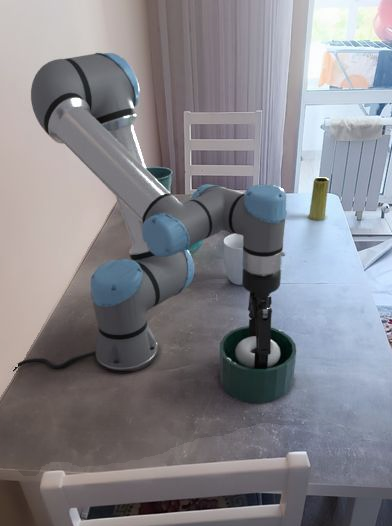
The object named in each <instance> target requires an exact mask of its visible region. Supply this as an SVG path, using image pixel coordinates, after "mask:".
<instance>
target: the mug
mask: <svg viewBox="0 0 392 526" xmlns="http://www.w3.org/2000/svg"><path fill="white" fill-rule="evenodd" d="M222 244H223V245H222V246H223V247H222V248H223V249H222V252H223V254H222V255H223V267H224V270H225V274H226V276H227V278H228V280H229V281H230V282H231V283H232V284H234V285H237V286H243V284H242V274H243V266H242V263H243V235H239V234H235V233H231V234H229V235H227V236H225V237H224V238H223V243H222Z"/></svg>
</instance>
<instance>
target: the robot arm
mask: <svg viewBox="0 0 392 526" xmlns="http://www.w3.org/2000/svg"><path fill="white" fill-rule="evenodd" d="M138 81H139V80H138V79H137V76H136V73H135V71H134V70H133V68H132V65H130V63H129V62H128V61H127V60H126V59H124V57H121V56H120V55H119V54H117V53H114V52H107V53H106V52H104V53H103V52H95V53H92V54H85V55H80V56H79V55H78V56H74V57H73V56H72V57H68V58H56V59H53V60H51V61H48V62H46V63H45V64H43V65H42V66H41V67H40V68H39V69H38V71H37V72H36V73H35V75H34V77H33V80H32V83H31V87H30V103H31V107H32V112H33V113H34V116H35V118H36V120H37V122H38V124H39V125H40V127H41V128H42V129H43V130H44V132H45V133H46V134H47V135H48V136H49V137H50V138H51V139H52V140H53V141H54V142H55V143H58V144H61V145H65V146H66V147H67V148H68V149H69V150H70V151H71V152H72V153H73V154H74V155H75V157H77V158H78V159H79V160H80V162H82V163H83V164H84V165H85V166H86V167H87V169H89V170H90V172H91V173H92V174H94V176H95V177H96V178H98V180H99V181H100V182H101V183H102V184H103V185H104V186H105V187H106V188H107V189H108V190H109V191H110V192H111V193H112V194H113V195H114V196H115V198H116V201H117V205H118V207H119V209H120V212H121V215H122V218H123V220H124V224H125V226H126V230H127V232H128V235H129V238H130V241H131V247H130V249H129V252H128V253H129V257H130V258H118V260H115V259H112V260H110V261H107V262H105V263H103V264H101V265H100V266H99V267H98V268H96V269H95V270H94V271H93V273H92V275H91V276H90V296H91V300H92V302H93V307H94V312H95V318H96V323H97V327H98V335H97V341H96V345H95V351H91V352H88V353H85V354H81V355H77V356H74V357H71V358H70V359H68V360H66V361H65V362H63V363H60V364H53V363H52V362H50V361H49V360H48V359H46V358H41V357H40V358H39V357H38V358H37V357H36V358H27V359H24V360H22V361H19V362H18V363H17V364H18V367H15V369H14V370H13V372H12V373H14V372H15V371H17V370H18V368H20V367H22V366H23V365H26V364H30V363H31V364H32V363H44V364H45V365H47V366H48V367H49V368H51V369H54V370H55V369H57V370H58V369H63V368H65V367H67V366H69V365H70V364H72V363H74V362H76V361H79V360H83V359H86V358H90V357H94V356H95V358H96V362H97V364H98V365H99V366H100V367H101V368H102V369H104V370H106V371H107V372H111V373H115V374H130V373H134V372H135V373H136V372H138V371H141V370H143V369H145V368H147V367H148V366H150V365H152V363H154V362H155V360H156V359H157V357H158V353H159V348H158V342H157V340H156V337H155V336H154V334H153V333H152V331H151V328H150V327H149V324H148V317H147V312H148V311H149V310H151V309H153V308H154V307H156V306H158V305H160V304H162V303H164V302H165V301H167V300H169V299H170V298H172V297H174V296H177V295H179V294H181V293H182V291H183V290H185V289H187V288H188V287H190V285H191V283H192V281H193V279H194V275H195V265H194V260H193V257H192V255H190V253H189V251H188V250H186V248H188V247H190V246H192V245H194V244H196V243H197V242H199V241H201V240H204V241H205V240H206V239H209V238H210V237H212V236H214V235H217V234H219V233H220V232H222V231H226V232H229V233H231V234H239V235H243V263H242V266H243V274H242V284H243V285H242V287H243V288H244V289H245V291H248V292H249V296H248V297H249V299H248V307H247V310H248V312H249V313H248V318H249V319H248V326H249V337H252V336H256V348H255V349H253V352H255V359H254V369H267V365H268V355H269V354H271V327H272V313H273V309H272V307H271V305H272V303H273V302H272V296H271V294H272V293H274V292H276V291H277V290H279V289H280V287H281V279H282V269H281V268H282V262H283V258H282V257H285V256H286V252H285V250H283V248H284V236H285V227H286V218H287V194H286V192H285V190H284V189H283V188H281V187H280V186H277V185H274V184H264V183H263V184H255V185H252V186H249V187H248V188H246V189H245V192H241V191H238V190H234V189H230V188H227V187H224V186H222V185H219V184H215V185H214V184H210V183H208V184H202V185H200V186H198V187H197V190H196V191H194V192H193V194H192V195H191V198H190V200H187V201H185V202H181V201H179V199H177V198H176V196H174V195H173V194H172V193H171V191H170V192H169V191H168V190H167V189H166V188H165V187H164V186H163V185H162V184H161V183H160V182H159V181H158V180H157V179H156V178H155V177H154V176H153V175H152V174H151V173H150V172H149V171H148V170H147V169H146V164H145V160H144V157H143V154H142V151H141V148H140V145H139V142H138V139H137V136H136V133H135V130H134V123H135V121H136V119H137V112H136V111H135V110H136V109H135V108H136V107H137V105H138V104H139V101H140V97H139V95H140V85H139V82H138Z"/></svg>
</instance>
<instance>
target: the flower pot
mask: <svg viewBox="0 0 392 526" xmlns="http://www.w3.org/2000/svg"><path fill="white" fill-rule="evenodd" d="M145 167H146V166H145ZM146 169H147V170H148V171H149V172H150V173H151V174H152V175H153V176H154V177H155V178H156V179H157V180H158V181H159V182H160V183H161V184H162V185H163V186H164V187H165V188H166V189H167V190H168V191H169V192H170V193H171V184H172V175H173V170H172V169H171V168H168V167H163V166H162V167H161V166H147V167H146Z"/></svg>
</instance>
